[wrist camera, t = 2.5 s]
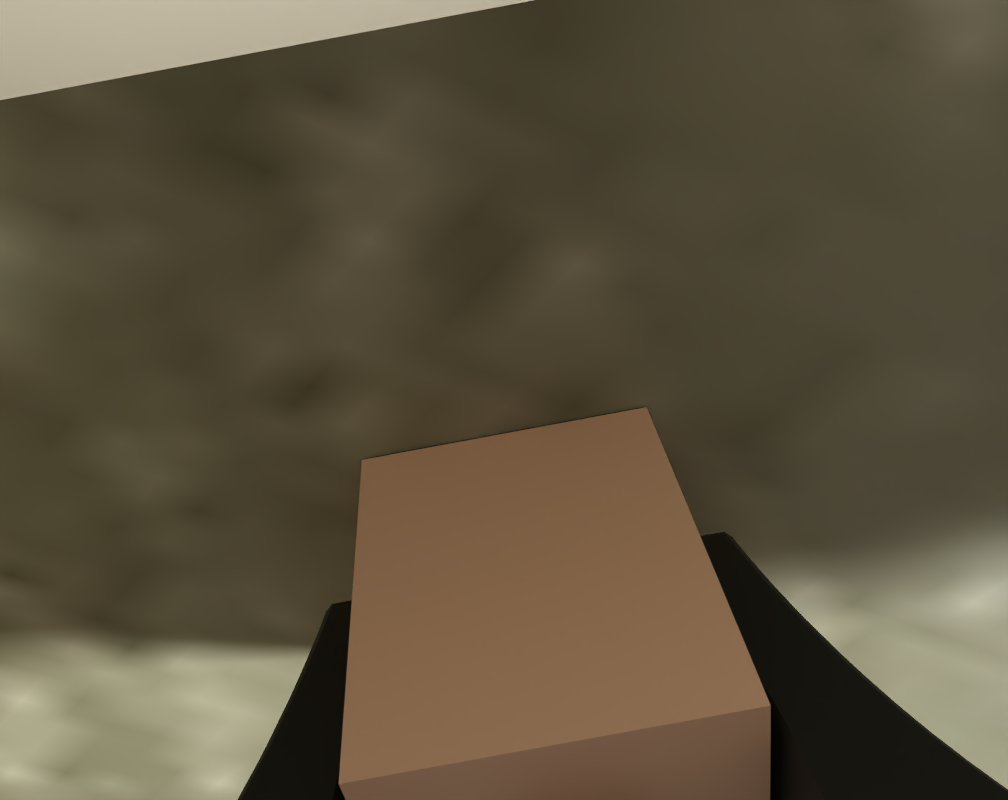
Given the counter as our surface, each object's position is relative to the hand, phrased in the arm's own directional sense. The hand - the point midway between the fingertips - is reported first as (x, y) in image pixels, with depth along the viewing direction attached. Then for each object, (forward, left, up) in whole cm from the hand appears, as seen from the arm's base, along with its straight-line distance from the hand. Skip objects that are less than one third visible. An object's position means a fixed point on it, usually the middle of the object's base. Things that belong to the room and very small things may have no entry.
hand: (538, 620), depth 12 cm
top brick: (0, 0, -2) cm, 2 cm away
